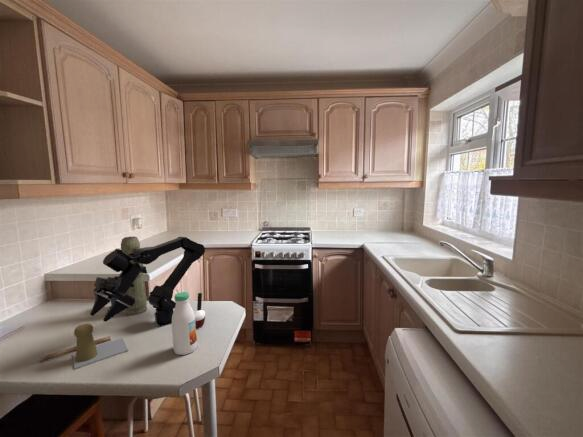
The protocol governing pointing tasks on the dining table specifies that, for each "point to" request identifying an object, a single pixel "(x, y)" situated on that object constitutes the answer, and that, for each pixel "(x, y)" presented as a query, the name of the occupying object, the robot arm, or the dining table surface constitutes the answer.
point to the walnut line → (70, 350)
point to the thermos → (138, 290)
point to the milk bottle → (183, 325)
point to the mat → (103, 352)
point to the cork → (85, 343)
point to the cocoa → (199, 313)
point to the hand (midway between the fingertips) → (97, 318)
